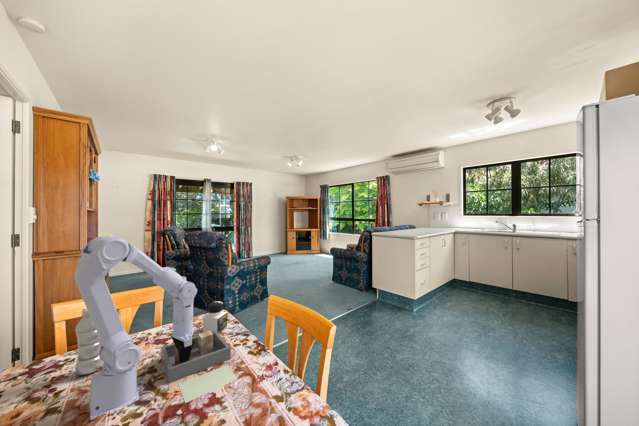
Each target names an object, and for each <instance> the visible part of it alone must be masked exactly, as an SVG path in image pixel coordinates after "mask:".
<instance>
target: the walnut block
mask: <svg viewBox="0 0 639 426" xmlns="http://www.w3.org/2000/svg"><path fill="white" fill-rule="evenodd" d="M190 360H191V353H190V358H189V361H190ZM179 364H181V362H180V358H179V353H178V349H177V348H176V346H175V366H176V365H179Z"/></svg>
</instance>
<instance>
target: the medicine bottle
mask: <svg viewBox="0 0 639 426" xmlns="http://www.w3.org/2000/svg"><path fill="white" fill-rule="evenodd" d="M226 328H228V312H227V311H224V303H223V302H222V301H218V300H217V301H212V302H210V303H209V304H208V305H207V314H206V315H204V316H202V333H203V332H206V331H211V332H213V331H216V332H217V333H218V334H219V335H220V333H221V332H222V331H223V330H225V329H226Z"/></svg>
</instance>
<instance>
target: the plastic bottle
mask: <svg viewBox="0 0 639 426" xmlns="http://www.w3.org/2000/svg"><path fill="white" fill-rule="evenodd" d="M81 317H82V318H81V319H80V320H79V321H78V322H77V324H76V325H75V326H76V327H75V328H74V329H75V330H74V331H75V335H76V341H77V356H76V362H75V367H74V370H75V374H77V375H79V376H87V375H89V374H93V373H96V372H98V371H99V370H100V369H101V368H103V365H104V361H102V360H101V359H100V357H99V352H100V344H99V340H100V338H99V336H98V333H97V331H96V329H95V326H94V324H93V322H92V319H91V317H90V315H89V312H88V310H87V308H86V307H85V308H84V309H82V312H81Z"/></svg>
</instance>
